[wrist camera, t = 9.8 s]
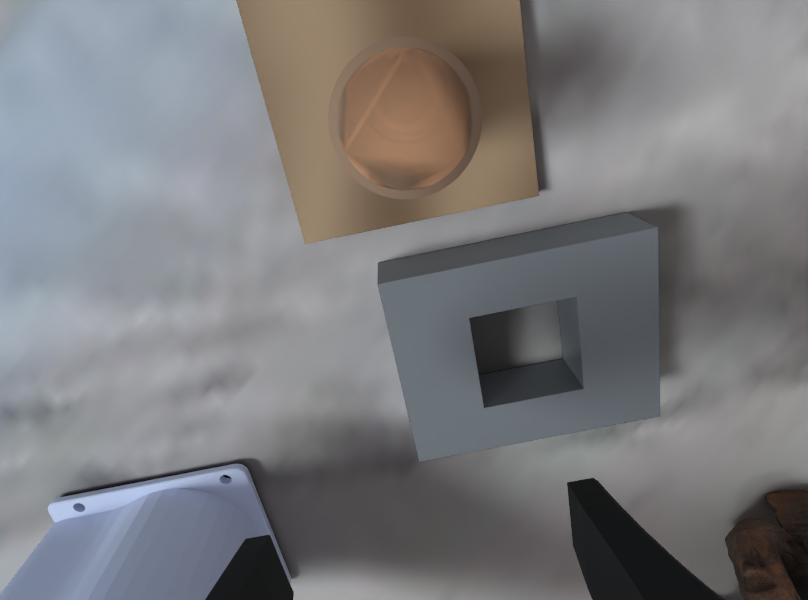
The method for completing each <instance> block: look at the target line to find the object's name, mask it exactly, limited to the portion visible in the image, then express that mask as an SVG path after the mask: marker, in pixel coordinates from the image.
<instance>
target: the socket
mask: <svg viewBox="0 0 808 600" xmlns="http://www.w3.org/2000/svg"><path fill="white" fill-rule="evenodd" d="M378 288H379V292H380V297H381V301H382V305H383V309H384V314H385V318H386V322H387V327H388V331H389V335H390V339H391V344H392V348H393V352H394V356H395V361H396V365H397V369H398V373H399V378H400V382H401V386H402V391H403V395H404V399H405V403H406V408H407V412H408V416H409V420H410V425H411V429H412V433H413V438H414V442H415V446H416V450H417V455H418V459H419V462H422V461H427V460H432V459H437V458H443V457H448V456H453V455H458V454H464V453H469V452H474V451H479V450H485V449H490V448H495V447H500V446H506V445H511V444H516V443H522V442H527V441H532V440H537V439H543V438H548V437H553V436H558V435H564V434H569V433H574V432H579V431H585V430H590V429H595V428H600V427H606V426H611V425H616V424H621V423H627V422H632V421H637V420H643V419H648V418H653V417H658V416H660V352H659V260H658V227H656V226H654V225H652V224H650V223H648V222H646V221H644V220H642V219H639V218H637V217H635V216H633V215H631V214H629V213H627V212H625V213H620V214H615V215H610V216H605V217H600V218H595V219H590V220H586V221H581V222H576V223H571V224H566V225H561V226H556V227H551V228H546V229H542V230H537V231H532V232H527V233H522V234H517V235H512V236H507V237H502V238H497V239H493V240H488V241H483V242H478V243H473V244H468V245H463V246H458V247H453V248H449V249H444V250H439V251H434V252H429V253H424V254H419V255H414V256H409V257H405V258H400V259H395V260H390V261H385V262H380V263H378ZM557 300H558V311H559V322H560V332H561V343H562V354H563V359H558V360H553V361H548V362H543V363H538V364H533V365H527V366H522V367H517V368H512V369H507V370H502V371H497V372H492V373H486V374H481V375H478V369H477V363H476V357H475V351H474V345H473V339H472V333H471V327H470V321H469V318H472V317H477V316H482V315H487V314H492V313H497V312H502V311H507V310H512V309H517V308H522V307H527V306H532V305H537V304H542V303H547V302H552V301H557Z"/></svg>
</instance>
